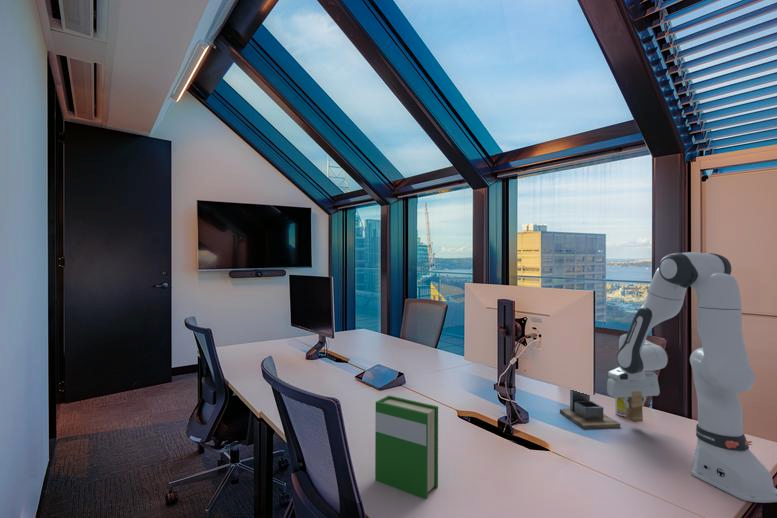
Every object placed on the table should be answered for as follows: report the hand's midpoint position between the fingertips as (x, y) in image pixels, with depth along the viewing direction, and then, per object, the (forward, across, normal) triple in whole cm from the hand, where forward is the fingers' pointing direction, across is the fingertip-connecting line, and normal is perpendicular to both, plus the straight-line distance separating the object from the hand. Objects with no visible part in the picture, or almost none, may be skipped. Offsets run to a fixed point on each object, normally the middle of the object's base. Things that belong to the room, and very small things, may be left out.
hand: (634, 407), depth 163 cm
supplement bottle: (+9, -5, -15) cm, 18 cm away
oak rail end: (+5, 0, 0) cm, 5 cm away
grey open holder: (+6, +14, -12) cm, 19 cm away
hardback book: (+6, +97, +35) cm, 103 cm away
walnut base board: (+8, +14, -10) cm, 19 cm away
